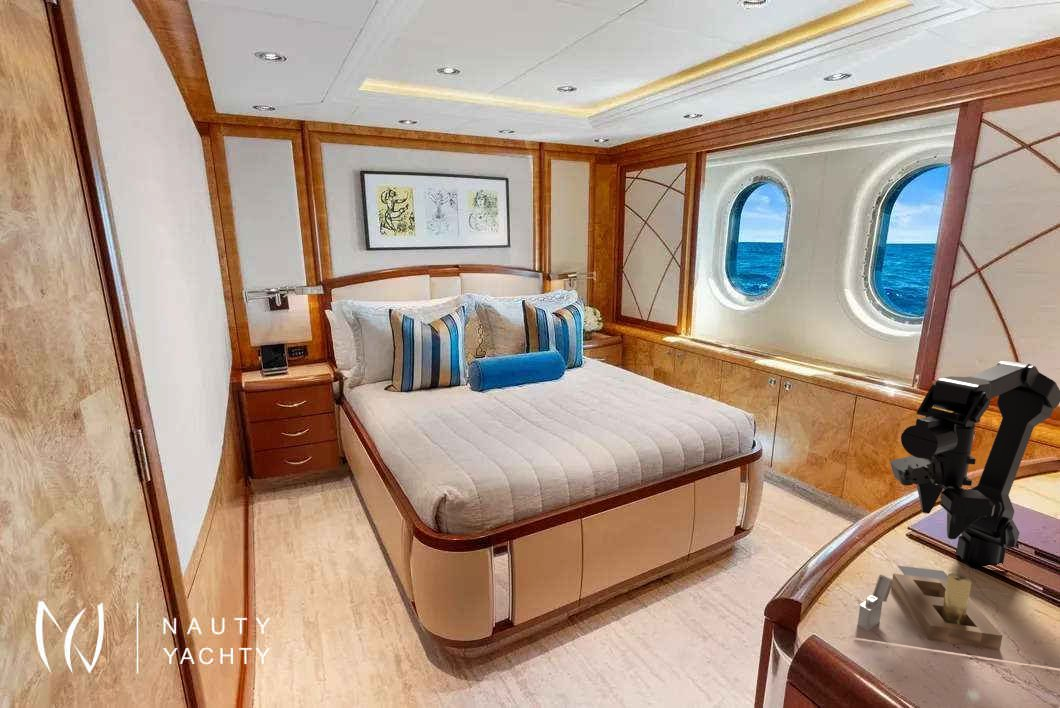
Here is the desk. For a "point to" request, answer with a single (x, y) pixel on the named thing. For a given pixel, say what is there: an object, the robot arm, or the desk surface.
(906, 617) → the desk surface
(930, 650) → the desk surface
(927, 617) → the hole block
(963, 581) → the peg
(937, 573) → the mat
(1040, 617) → the desk surface
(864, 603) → the lighter
